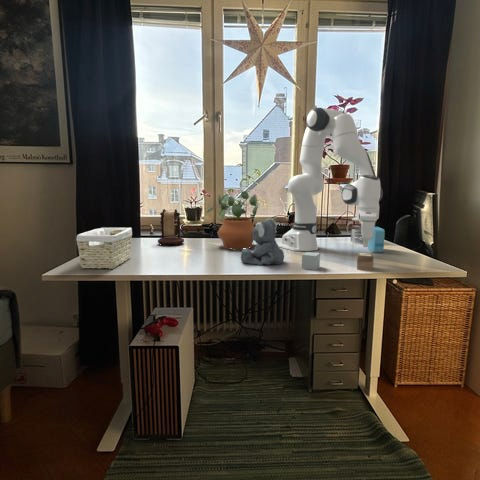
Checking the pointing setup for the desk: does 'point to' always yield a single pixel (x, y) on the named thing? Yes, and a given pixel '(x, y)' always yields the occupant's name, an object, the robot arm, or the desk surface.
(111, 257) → the storage basket
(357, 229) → the french press
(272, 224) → the koala plush
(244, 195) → the potted plant
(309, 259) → the grey cube
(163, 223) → the scroll
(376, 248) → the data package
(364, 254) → the walnut cube
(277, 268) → the desk surface
